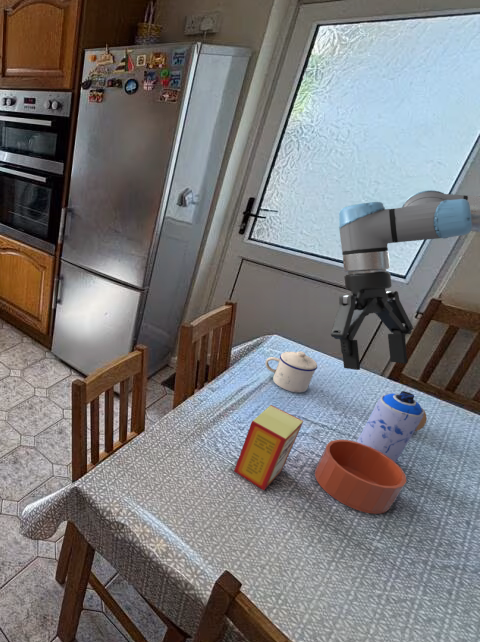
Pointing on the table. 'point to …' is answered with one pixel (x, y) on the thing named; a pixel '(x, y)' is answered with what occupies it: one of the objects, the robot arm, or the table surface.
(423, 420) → the egg
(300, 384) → the teacup with lid
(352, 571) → the table surface
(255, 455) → the baking soda box
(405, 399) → the aerosol can
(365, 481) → the terracotta bowl
